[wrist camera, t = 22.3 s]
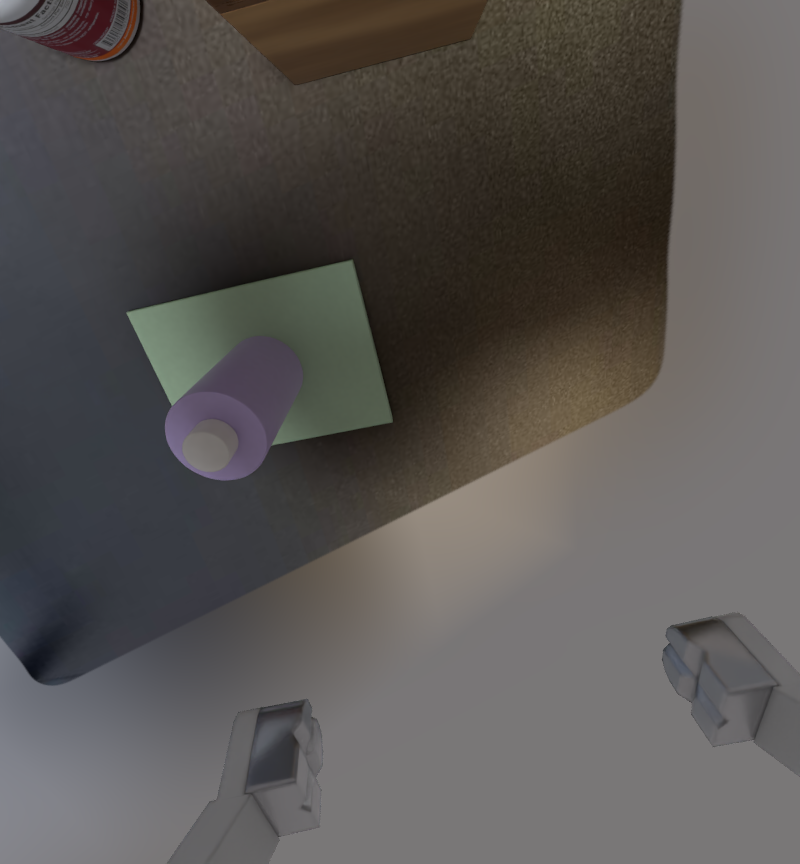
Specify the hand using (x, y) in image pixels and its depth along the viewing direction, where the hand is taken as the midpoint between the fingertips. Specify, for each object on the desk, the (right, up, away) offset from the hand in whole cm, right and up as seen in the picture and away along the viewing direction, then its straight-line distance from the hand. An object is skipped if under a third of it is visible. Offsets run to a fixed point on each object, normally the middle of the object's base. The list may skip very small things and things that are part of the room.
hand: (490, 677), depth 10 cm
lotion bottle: (-12, +10, +23) cm, 28 cm away
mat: (-12, +10, +24) cm, 28 cm away
